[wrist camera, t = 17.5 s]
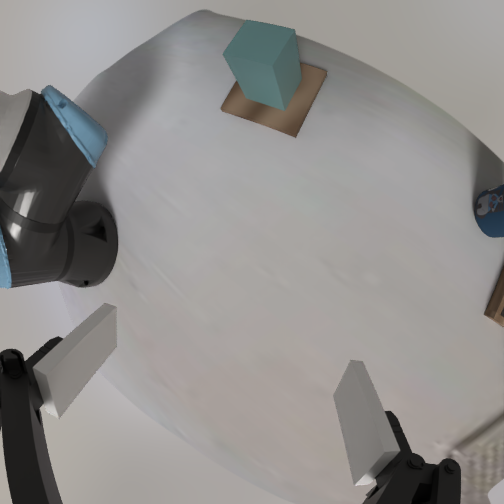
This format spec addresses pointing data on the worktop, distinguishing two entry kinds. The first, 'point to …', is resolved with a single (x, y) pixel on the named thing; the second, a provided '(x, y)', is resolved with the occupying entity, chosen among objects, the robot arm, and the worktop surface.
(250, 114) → the brown square base plate
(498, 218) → the soda can
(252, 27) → the tall teal pillar
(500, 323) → the mug frame
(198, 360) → the worktop surface
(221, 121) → the worktop surface
